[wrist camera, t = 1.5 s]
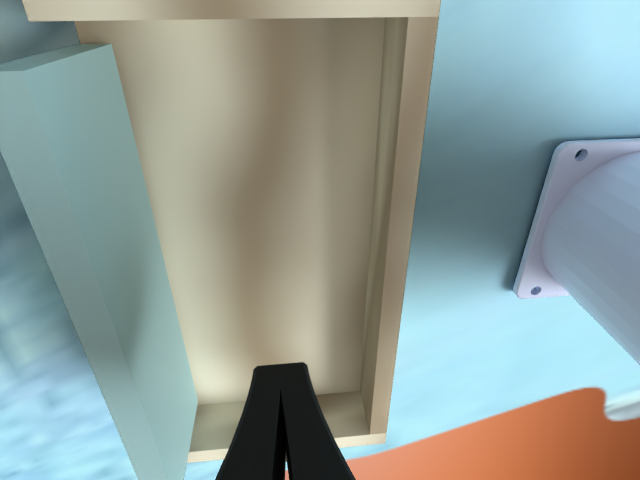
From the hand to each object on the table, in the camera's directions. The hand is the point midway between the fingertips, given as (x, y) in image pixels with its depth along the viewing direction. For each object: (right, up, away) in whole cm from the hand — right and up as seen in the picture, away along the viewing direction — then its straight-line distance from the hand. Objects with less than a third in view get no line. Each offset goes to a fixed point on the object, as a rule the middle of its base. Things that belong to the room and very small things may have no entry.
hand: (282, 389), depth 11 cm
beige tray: (-1, +4, +7) cm, 8 cm away
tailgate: (-6, +3, +5) cm, 9 cm away
